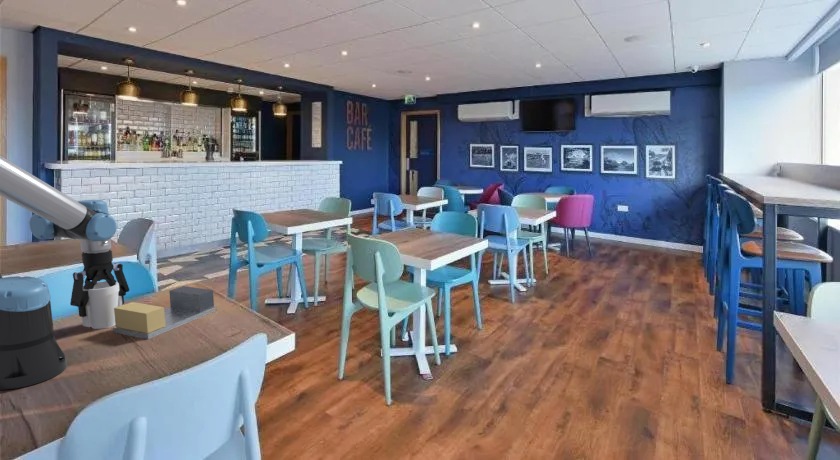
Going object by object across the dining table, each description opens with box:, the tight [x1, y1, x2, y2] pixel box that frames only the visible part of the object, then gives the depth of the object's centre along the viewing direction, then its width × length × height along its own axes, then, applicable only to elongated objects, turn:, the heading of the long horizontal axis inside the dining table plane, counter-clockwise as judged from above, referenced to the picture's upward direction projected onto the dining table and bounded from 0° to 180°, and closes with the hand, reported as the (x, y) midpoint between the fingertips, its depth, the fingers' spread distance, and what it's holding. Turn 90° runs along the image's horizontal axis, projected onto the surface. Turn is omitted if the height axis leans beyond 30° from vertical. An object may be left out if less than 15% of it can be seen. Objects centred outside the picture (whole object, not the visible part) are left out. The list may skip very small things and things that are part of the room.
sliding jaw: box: [114, 301, 166, 333], centre depth 134 cm, size 6×13×6 cm, turn 71°
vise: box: [112, 285, 217, 340], centre depth 143 cm, size 26×14×8 cm, turn 161°
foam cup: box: [83, 280, 119, 330], centre depth 138 cm, size 10×9×13 cm
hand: (103, 320), depth 139 cm, fingers closed on foam cup, 9 cm apart
